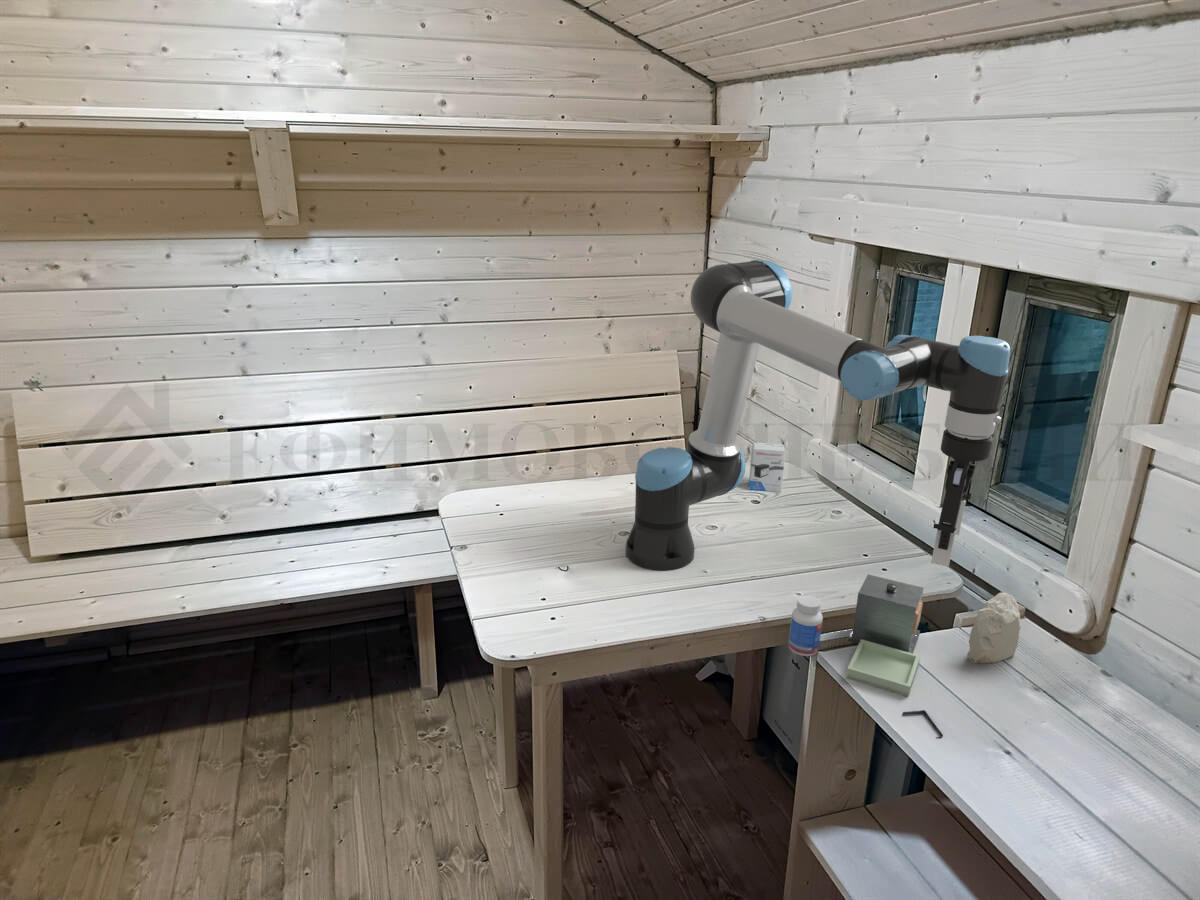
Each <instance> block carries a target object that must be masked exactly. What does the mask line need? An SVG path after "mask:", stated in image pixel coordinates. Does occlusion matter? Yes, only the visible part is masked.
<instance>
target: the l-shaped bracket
mask: <svg viewBox="0 0 1200 900" xmlns="http://www.w3.org/2000/svg"><path fill="white" fill-rule="evenodd" d="M911 715H912V716H914V715H924V716H925V717H926V719H927V720H928V721H929V723H930V724H931V725H932V727H933V728H934V730H936V731H937V733H938V734H939V736H937V737H935V739H939V738H943V737H944V734H943V733H942V731H941V730H940V729H939V728H938V726H937V725H936V724H935V722H934V721H933V719H932V718H931V717H930V716H929V713H928V712H927V711H926V710H925V709H922V710H921V709H920V710H912V711H911V710H910V711H902V715H901V716H905V717H906V716H911Z"/></svg>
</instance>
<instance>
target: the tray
mask: <svg viewBox="0 0 1200 900" xmlns="http://www.w3.org/2000/svg"><path fill="white" fill-rule="evenodd" d="M920 660H921V655H919V654H916V653H913V654H912V653H909V652H905V651H902V650H898V649H895V648H891V647H887V646H884V645H880V644H877V643H873V642H869V641H866V640H862V639H861V640H860V643H859V644H857V648H856V649H855V652H854V653H853V656H852V657H851V660H850V662H849V664H848V666H847V671H846V676H845V679H848V680H851V681H854V682H858V683H862V684H865V685H868V686H871V687H874V688H878V689H881V690H885V691H888V692H891V693H895V694H898V695H901V696H905V697H909V696H910V693H911V690H912V687H913V684H914V682H915V681H914V680H915V678H916V674H917V671H918V668H919V666H920V665H919V664H920Z"/></svg>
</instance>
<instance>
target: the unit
mask: <svg viewBox="0 0 1200 900" xmlns="http://www.w3.org/2000/svg"><path fill="white" fill-rule="evenodd" d="M923 594H924V587H921V586H917V585H914V584H909V583H905V582H901V581H897V580H892V579H888V578H884V577H880V576H877V575H873V574H867V576H866V577H865V579H864V581H863V582H862V585H861V587H860V589H859V590H858V593H857V597H856V598H857V601H856V606H855V613H854V621H853V626H852V628H851V631H853V634H852V637H848V636H847V642H849V643H852V644H856V645H859V643H860V640H861V639H862V640H866V641H869V642H873V643H877V644H880V645H884V646H887V647H891V648H895V649H898V650H902V651H905V652H909V653H912V654H914V651H915V648H916V645H917V643H918V640H919V637H920V634H921V630H919V629H918V627H919V623H920V622H921V615H922V610H923V604H924V602H923V601H922V600H923ZM851 631H850V632H851ZM915 635H917V636H915Z"/></svg>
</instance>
